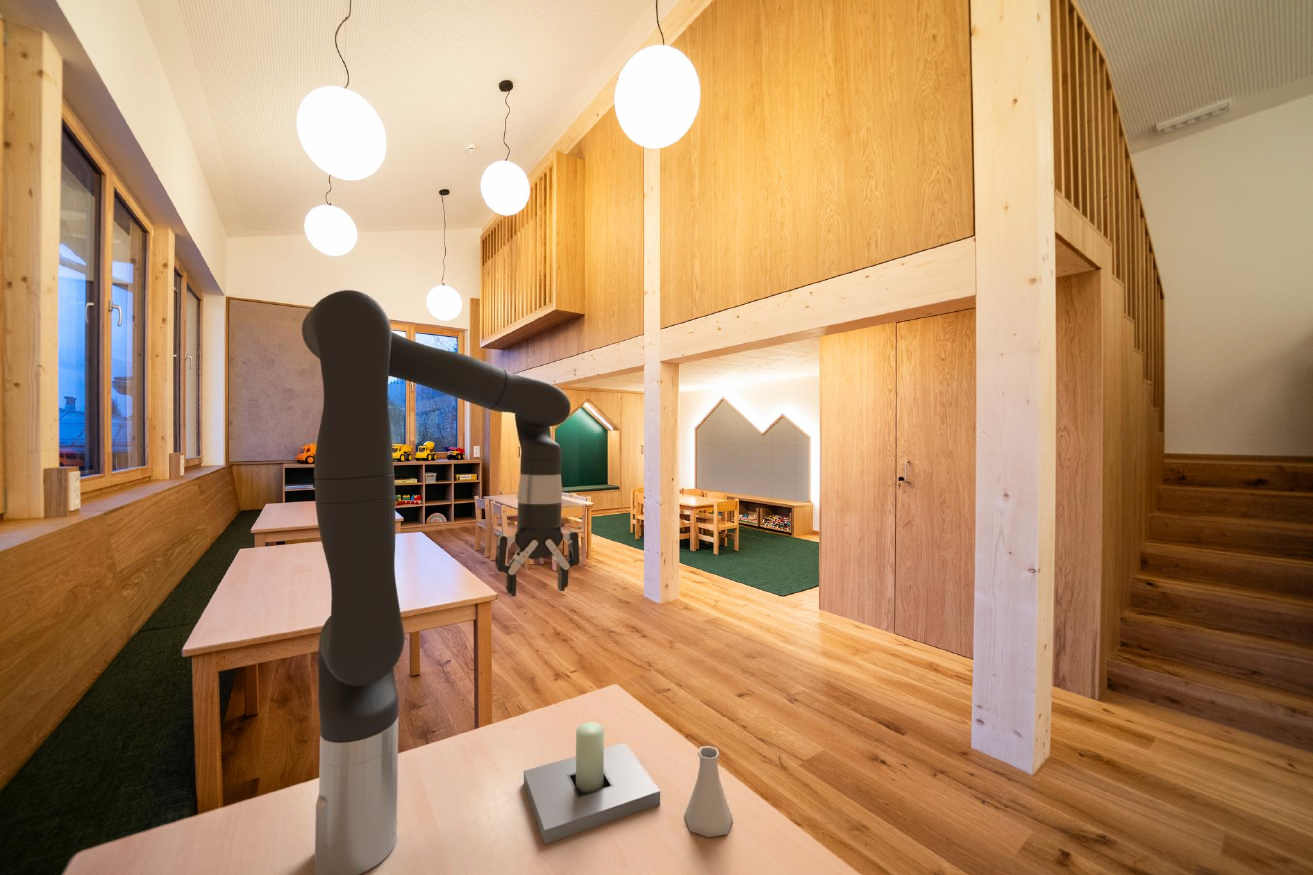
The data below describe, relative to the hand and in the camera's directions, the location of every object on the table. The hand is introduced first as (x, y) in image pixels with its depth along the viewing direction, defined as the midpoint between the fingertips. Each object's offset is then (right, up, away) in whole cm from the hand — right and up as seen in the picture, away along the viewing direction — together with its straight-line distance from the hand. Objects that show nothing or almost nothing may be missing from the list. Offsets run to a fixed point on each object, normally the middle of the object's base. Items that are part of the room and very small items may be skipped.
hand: (537, 592), depth 87 cm
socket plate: (+10, -30, -8) cm, 32 cm away
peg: (+10, -30, -8) cm, 32 cm away
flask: (+29, -30, -13) cm, 43 cm away
